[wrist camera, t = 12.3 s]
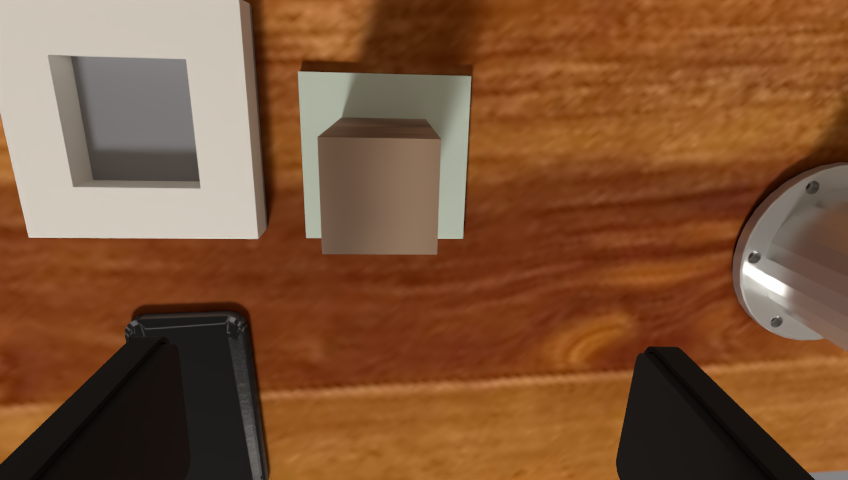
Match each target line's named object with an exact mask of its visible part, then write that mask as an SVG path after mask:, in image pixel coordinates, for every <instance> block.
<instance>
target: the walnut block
mask: <svg viewBox="0 0 848 480" xmlns="http://www.w3.org/2000/svg"><path fill="white" fill-rule="evenodd" d="M317 140H318V164H319V189H320V214H321V239H322V254H437V243H438V214H439V185H440V156H441V138H440V137H439V136H438V134H437V133H436V132H435V130H434V129H433V128H432V126H431V125H430V124H429V122H428V121H427V120H426V119H396V118H346V117H341V118H340V119H339V120H338V121H336V122H335V123H334V124H333V125H332V126H330V127H329V128H328V129H327V130H325V131H324V132H323V133H322V134H321V135H319V136H318V137H317Z"/></svg>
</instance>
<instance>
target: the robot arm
mask: <svg viewBox="0 0 848 480" xmlns="http://www.w3.org/2000/svg"><path fill="white" fill-rule="evenodd" d="M732 276H733V284H734V290H735V292H736V295H737V298H738V300H739V303H740V304H741V306H742V307H743V309H744V310H745V311H746V313H747V314H748V315H749V316H750V317H751V318H752V319H753V320H755V321H756V322H757V323H758V324H760V325H761V326H763V327H764V328H766V329H767V330H769V331H770V332H772V333H775V334H777V335H780V336H782V337H785V338H790V339H796V340H818V339H824V338H826V339H827V340H829V341H830V342H832V343H834V344H835V345H837V346H839V347H840V348H842V349H844V350H845V351H847V352H848V162H838V163H833V164H827V165H821V166H819V167H816V168H813V169H810V170H808V171H805V172H802V173H801V174H799V175H797V176H795V177H793V178H792V179H790V180H788V181H786V182H785V183H784V184H782V185H781V186H780V187H778V188H777V189H776V190H775V191H773V192H772V193H771V194H770V195H769V196H768V197H767V198H766V199H765V200H764V201H763V202H762V203H761V204H760V205H759V206H758V207H757V209H756V210H755V211H754V213H753V214H752V216H751V217H750V219H749V220H748V222H747V223H746V225H745V227H744V229H743V231H742V233H741V235H740V237H739V240H738V243H737V246H736V250H735V253H734V257H733V269H732ZM190 461H191V453H190V445H189V436H188V427H187V419H186V410H185V401H184V393H183V384H182V375H181V367H180V358H179V351H178V347H177V346H176V345H175V344H170V342H169V340H168V339H167V338H166V337H150V336H134V337H132V338H131V339H130V340H129V341H128V342H127V343H126V344H125V345H124V346H123V347H122V348H120V349H119V350H118V351H117V352H116V353H115V354H114V355H113V356H112V357H111V358H110V359H109V360H108V361H107V362H106V363H105V364H104V365H103V366H102V367H101V368H100V369H99V370H98V371H97V372H96V373H95V374H94V375H93V376H91V377H90V378H89V379H88V380H87V381H86V382H85V383H84V384H83V385H82V386H81V387H80V388H79V389H78V390H77V391H76V392H75V393H74V394H73V395H72V396H71V397H70V398H69V399H68V400H67V401H66V402H65V403H64V404H62V405H61V406H60V407H59V408H58V409H57V410H56V411H55V412H54V413H53V414H52V415H51V416H50V417H49V418H48V419H47V420H46V421H45V422H44V423H43V424H42V425H41V426H40V427H39V428H38V429H37V430H36V431H35V432H34V433H32V434H31V435H30V436H29V437H28V438H27V439H26V440H25V441H24V442H23V443H22V444H21V445H20V446H19V447H18V448H17V449H16V450H15V451H14V452H13V453H12V454H11V455H10V456H9V457H8V458H7V459H6V460H5V461H3V462H2V463H1V464H0V480H185V478H186V476H187V474H188V471H189V467H190ZM616 467H617V472H618V476H619V478H620V480H815V479H814V478H813V477H812V476H811V475H810V474H809V473H808V472H807V471H805V470H804V469H803V468H802V467H801V466H800V465H799V464H798V463H797V462H796V461H795V460H794V459H793V458H792V457H791V456H790V455H789V454H788V453H787V452H786V451H785V450H784V449H783V448H782V447H781V446H780V445H779V444H778V443H777V442H776V441H775V440H774V439H773V438H772V437H771V436H770V435H769V434H768V433H766V432H765V431H764V430H763V429H762V428H761V427H760V426H759V425H758V424H757V423H756V422H755V421H754V420H753V419H752V418H751V417H750V416H749V415H748V414H747V413H746V412H745V411H744V410H743V409H742V408H741V407H740V406H739V405H738V404H737V403H736V402H735V401H734V400H733V399H732V398H731V397H730V396H728V395H727V394H726V393H725V392H724V391H723V390H722V389H721V388H720V387H719V386H718V385H717V384H716V383H715V382H714V381H713V380H712V379H711V378H710V377H709V376H708V375H707V374H706V373H705V372H704V371H703V370H702V369H701V368H700V367H699V366H698V365H697V364H696V363H695V362H694V361H693V360H692V359H691V358H689V357H688V356H687V355H686V354H685V353H684V352H683V351H682V350H681V349H680V348H678V347H648V348H647V349H646V350H645V352H644V353H640V354H639V355H638V356H637V359H636V362H635V367H634V372H633V378H632V383H631V388H630V393H629V398H628V403H627V408H626V413H625V418H624V423H623V428H622V433H621V438H620V443H619V448H618V453H617V459H616Z"/></svg>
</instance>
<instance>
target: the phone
mask: <svg viewBox="0 0 848 480" xmlns="http://www.w3.org/2000/svg"><path fill="white" fill-rule="evenodd" d="M134 336H150V337H166V338H167V339H168V340H169V342H170V344H175V345H176V346H177V347H178V351H179V358H180V367H181V375H182V384H183V393H184V401H185V410H186V419H187V427H188V436H189V445H190V453H191V461H190V467H189V471H188V474H187V476H186V478H185V480H268V476H269V475H268V468H267V461H266V453H265V446H264V438H263V431H262V424H261V416H260V409H259V402H258V394H257V387H256V379H255V372H254V365H253V357H252V350H251V342H250V335H249V328H248V323H247V321H246V319H245V318H244V317H243V316H242V315H241V314H239V313H237V312H234V311H213V312H186V313H159V314H143V315H139V316H137V317H135V318H134V319H133V320H132V321H131V322H130V323H129V324H128V325H127V327H126V329H125V337H126V342H128V341H129V340H130V339H131V338H132V337H134Z"/></svg>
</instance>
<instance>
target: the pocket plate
mask: <svg viewBox="0 0 848 480" xmlns="http://www.w3.org/2000/svg"><path fill="white" fill-rule="evenodd" d="M0 113H1V118H2V122H3V127H4V131H5V135H6V140H7V144H8V149H9V153H10V157H11V162H12V166H13V170H14V175H15V179H16V184H17V188H18V192H19V197H20V201H21V206H22V210H23V214H24V219H25V223H26V227H27V232H28V236H29V238H196V239H259V237H260V236H261V235H262V234H263V232H264V231H265V230H266V229H267V228H268V224H267V210H266V197H265V183H264V170H263V156H262V143H261V129H260V116H259V102H258V88H257V75H256V61H255V48H254V34H253V21H252V7H251V4H249V3H247V2H246V1H244V0H0Z"/></svg>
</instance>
